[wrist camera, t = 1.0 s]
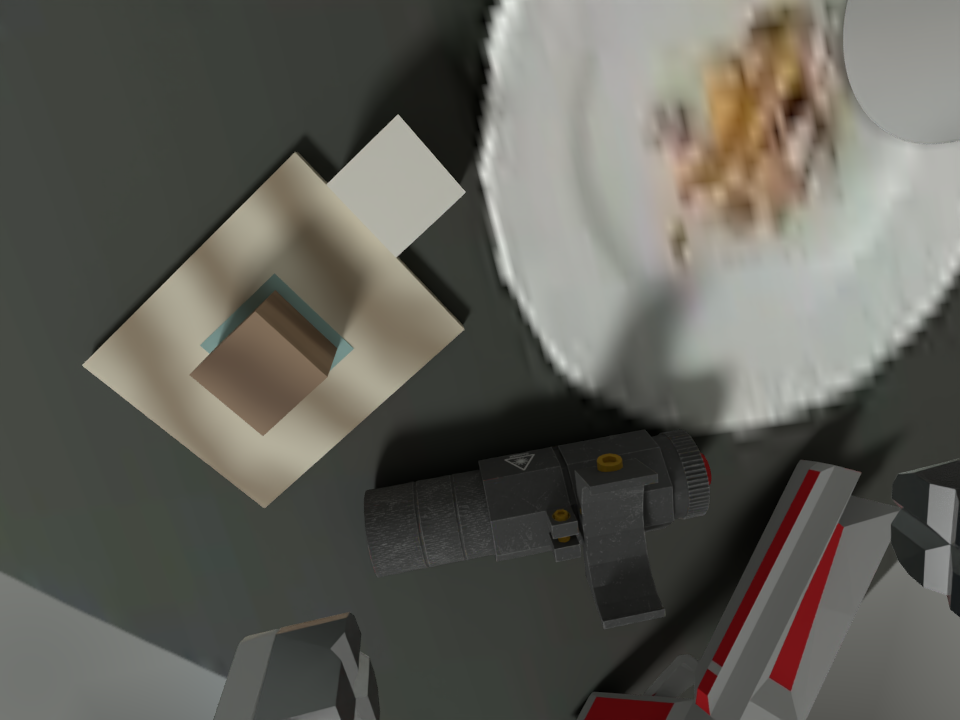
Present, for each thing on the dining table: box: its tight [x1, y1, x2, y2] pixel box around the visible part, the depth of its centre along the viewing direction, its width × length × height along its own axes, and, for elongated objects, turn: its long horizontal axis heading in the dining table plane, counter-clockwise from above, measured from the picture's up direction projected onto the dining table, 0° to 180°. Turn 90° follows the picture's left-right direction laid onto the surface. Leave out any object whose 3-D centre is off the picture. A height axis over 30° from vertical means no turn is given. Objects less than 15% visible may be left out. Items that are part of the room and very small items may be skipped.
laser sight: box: [364, 429, 711, 629], centre depth 39 cm, size 10×22×10 cm, turn 98°
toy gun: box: [577, 460, 901, 720], centre depth 46 cm, size 7×28×15 cm, turn 142°
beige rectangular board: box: [82, 152, 464, 508], centre depth 37 cm, size 18×14×1 cm
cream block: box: [326, 115, 466, 257], centre depth 33 cm, size 5×5×5 cm
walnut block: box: [190, 290, 338, 436], centre depth 35 cm, size 5×5×5 cm
